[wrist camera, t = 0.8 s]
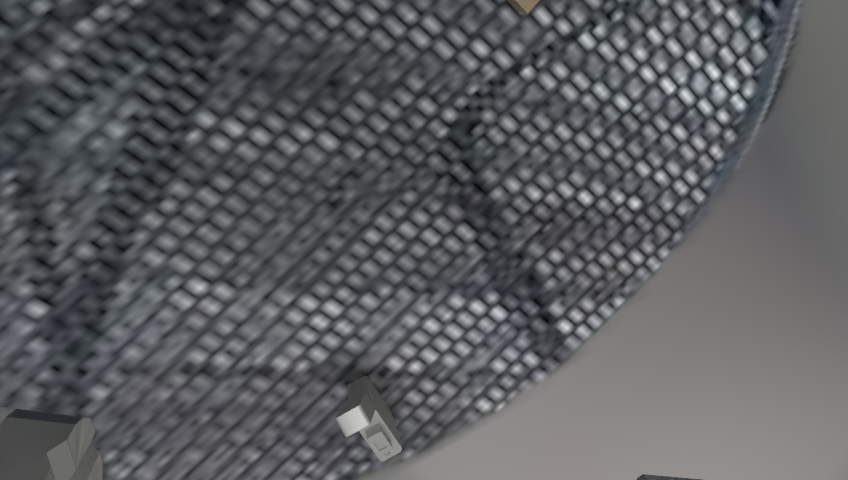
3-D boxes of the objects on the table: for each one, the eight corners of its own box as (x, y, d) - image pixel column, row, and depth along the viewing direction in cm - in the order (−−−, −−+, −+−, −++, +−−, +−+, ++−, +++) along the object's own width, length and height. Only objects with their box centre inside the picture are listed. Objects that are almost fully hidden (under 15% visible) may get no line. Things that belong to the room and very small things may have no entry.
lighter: (392, 413, 53) (413, 486, 46) (372, 425, 53) (390, 499, 46) (346, 344, 50) (361, 410, 43) (324, 356, 50) (335, 424, 43)
